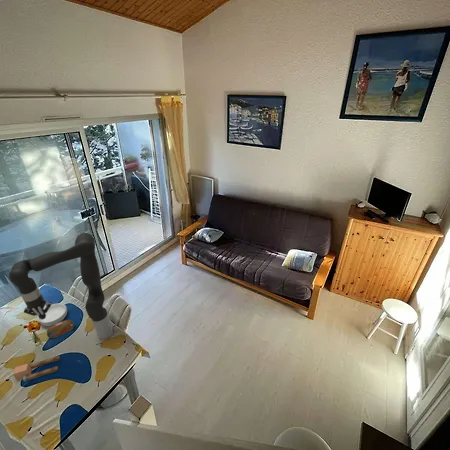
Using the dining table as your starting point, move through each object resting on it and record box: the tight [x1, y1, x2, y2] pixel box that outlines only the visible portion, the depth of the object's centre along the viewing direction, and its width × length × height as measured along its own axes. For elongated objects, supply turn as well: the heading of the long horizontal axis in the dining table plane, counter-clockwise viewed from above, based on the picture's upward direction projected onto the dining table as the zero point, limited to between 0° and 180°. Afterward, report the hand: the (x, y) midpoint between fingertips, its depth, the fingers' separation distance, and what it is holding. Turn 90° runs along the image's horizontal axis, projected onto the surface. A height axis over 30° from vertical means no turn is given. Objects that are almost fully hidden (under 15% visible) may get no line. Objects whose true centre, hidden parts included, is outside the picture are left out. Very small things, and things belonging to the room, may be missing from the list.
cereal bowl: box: [37, 302, 68, 327], centre depth 168 cm, size 17×17×7 cm
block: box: [12, 363, 32, 381], centre depth 136 cm, size 6×4×6 cm, turn 113°
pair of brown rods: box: [22, 355, 61, 383], centre depth 140 cm, size 16×9×2 cm, turn 113°
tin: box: [46, 319, 75, 339], centre depth 159 cm, size 15×3×8 cm, turn 126°
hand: (43, 318), depth 136 cm, fingers closed
